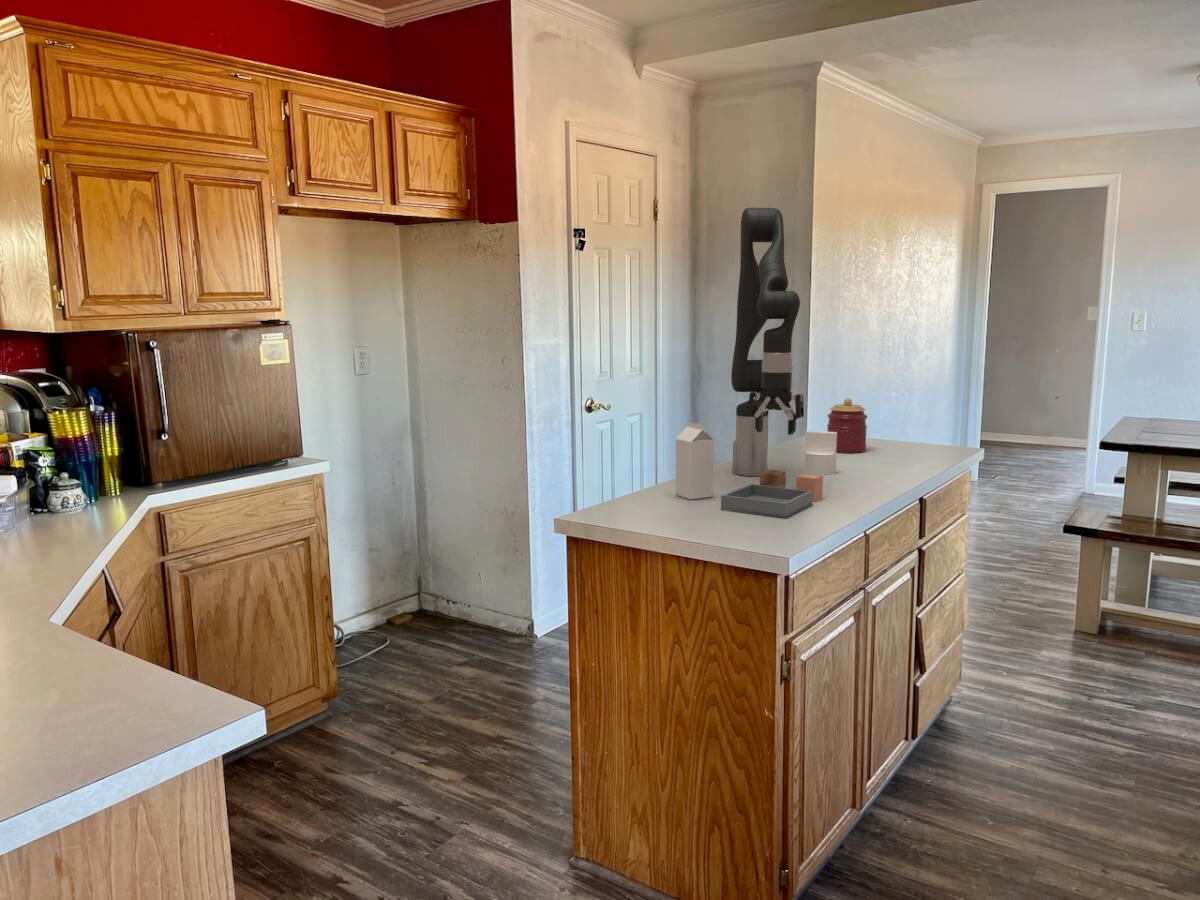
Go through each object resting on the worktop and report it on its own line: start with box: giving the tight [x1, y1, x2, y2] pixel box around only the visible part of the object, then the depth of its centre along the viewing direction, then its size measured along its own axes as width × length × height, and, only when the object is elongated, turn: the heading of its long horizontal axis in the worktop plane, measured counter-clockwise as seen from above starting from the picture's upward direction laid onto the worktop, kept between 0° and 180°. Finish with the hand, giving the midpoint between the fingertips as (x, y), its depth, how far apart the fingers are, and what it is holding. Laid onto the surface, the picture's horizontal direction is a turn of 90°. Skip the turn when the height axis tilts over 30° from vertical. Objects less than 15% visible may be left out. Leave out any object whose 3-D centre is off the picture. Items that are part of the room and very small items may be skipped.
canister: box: [826, 398, 868, 454], centre depth 296 cm, size 13×13×18 cm
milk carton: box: [675, 421, 715, 500], centre depth 227 cm, size 7×7×19 cm
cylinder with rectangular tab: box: [803, 430, 837, 476], centre depth 259 cm, size 9×9×12 cm
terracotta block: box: [795, 473, 824, 503], centre depth 224 cm, size 5×5×6 cm
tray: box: [720, 483, 813, 519], centre depth 215 cm, size 17×17×4 cm
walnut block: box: [759, 469, 787, 488], centre depth 230 cm, size 5×5×6 cm
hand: (775, 433), depth 228 cm, fingers open, 8 cm apart
